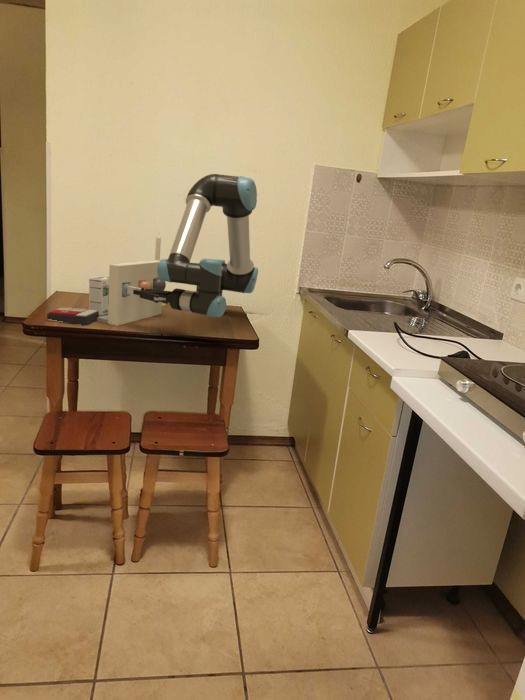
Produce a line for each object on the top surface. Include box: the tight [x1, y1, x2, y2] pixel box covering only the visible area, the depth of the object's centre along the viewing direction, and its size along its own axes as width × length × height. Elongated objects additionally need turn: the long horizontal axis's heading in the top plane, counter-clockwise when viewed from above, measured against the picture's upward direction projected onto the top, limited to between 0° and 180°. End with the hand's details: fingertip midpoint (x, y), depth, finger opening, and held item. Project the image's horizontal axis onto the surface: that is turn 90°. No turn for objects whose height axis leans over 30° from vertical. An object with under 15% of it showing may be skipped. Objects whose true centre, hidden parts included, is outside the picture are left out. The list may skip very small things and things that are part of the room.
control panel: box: [96, 259, 163, 327], centre depth 201 cm, size 30×9×22 cm, turn 158°
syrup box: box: [88, 275, 109, 317], centre depth 203 cm, size 6×6×14 cm
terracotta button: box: [138, 281, 152, 290], centre depth 199 cm, size 4×4×4 cm
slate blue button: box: [122, 283, 131, 296], centre depth 191 cm, size 4×4×4 cm
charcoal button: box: [153, 279, 167, 291], centre depth 208 cm, size 4×4×4 cm
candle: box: [154, 232, 167, 307], centre depth 230 cm, size 10×10×32 cm
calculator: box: [46, 307, 100, 326], centre depth 190 cm, size 11×4×15 cm
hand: (128, 289), depth 190 cm, fingers closed
